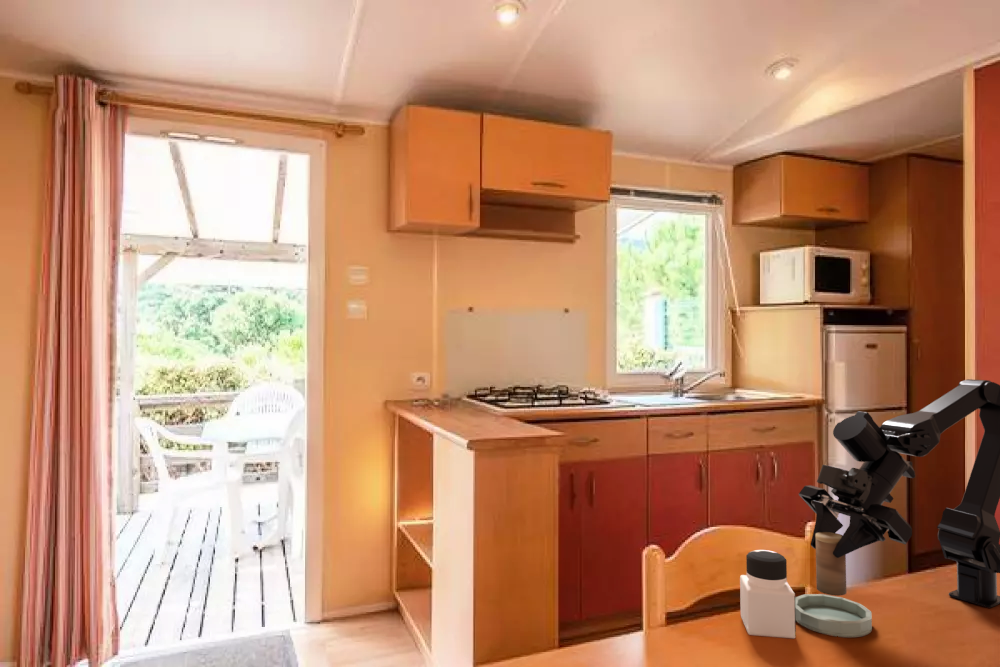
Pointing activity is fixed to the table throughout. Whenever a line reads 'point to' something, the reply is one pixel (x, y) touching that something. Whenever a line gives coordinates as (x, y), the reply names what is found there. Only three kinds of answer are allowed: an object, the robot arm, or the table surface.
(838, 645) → the table surface
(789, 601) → the medicine bottle
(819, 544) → the spice jar
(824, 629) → the dish
